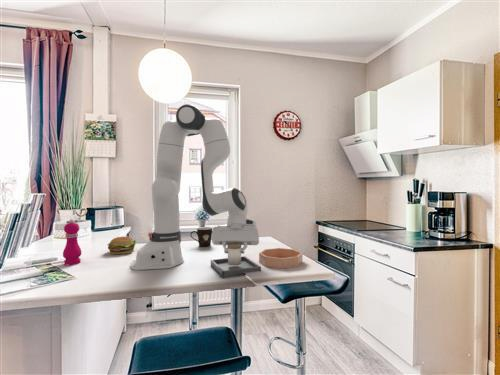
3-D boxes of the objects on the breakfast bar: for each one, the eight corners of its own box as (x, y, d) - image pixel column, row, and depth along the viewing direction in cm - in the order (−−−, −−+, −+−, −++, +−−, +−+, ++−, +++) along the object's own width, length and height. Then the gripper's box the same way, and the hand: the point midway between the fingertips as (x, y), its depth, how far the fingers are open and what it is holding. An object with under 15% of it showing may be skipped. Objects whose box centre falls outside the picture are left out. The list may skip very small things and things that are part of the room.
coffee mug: (213, 244, 171) (213, 227, 170) (210, 247, 162) (210, 229, 162) (194, 244, 172) (194, 227, 172) (190, 247, 163) (189, 229, 163)
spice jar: (229, 266, 119) (229, 246, 118) (225, 262, 124) (225, 243, 124) (243, 264, 121) (243, 245, 121) (238, 260, 126) (238, 242, 126)
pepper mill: (59, 264, 131) (58, 220, 130) (73, 260, 138) (72, 218, 137) (71, 266, 128) (70, 220, 128) (85, 261, 135) (84, 218, 135)
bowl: (271, 272, 118) (271, 260, 118) (254, 261, 134) (254, 250, 134) (308, 267, 124) (308, 255, 124) (288, 257, 141) (288, 247, 141)
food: (103, 256, 145) (103, 240, 145) (111, 249, 159) (110, 235, 159) (133, 254, 148) (133, 239, 148) (138, 248, 162) (137, 234, 161)
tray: (222, 278, 111) (222, 271, 111) (210, 265, 128) (210, 259, 128) (261, 273, 117) (260, 266, 117) (245, 261, 134) (245, 256, 134)
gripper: (212, 221, 130) (208, 248, 120) (259, 221, 128) (258, 248, 119) (214, 229, 134) (210, 256, 125) (259, 229, 133) (258, 256, 123)
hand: (234, 252), depth 122 cm, fingers closed on spice jar, 5 cm apart
